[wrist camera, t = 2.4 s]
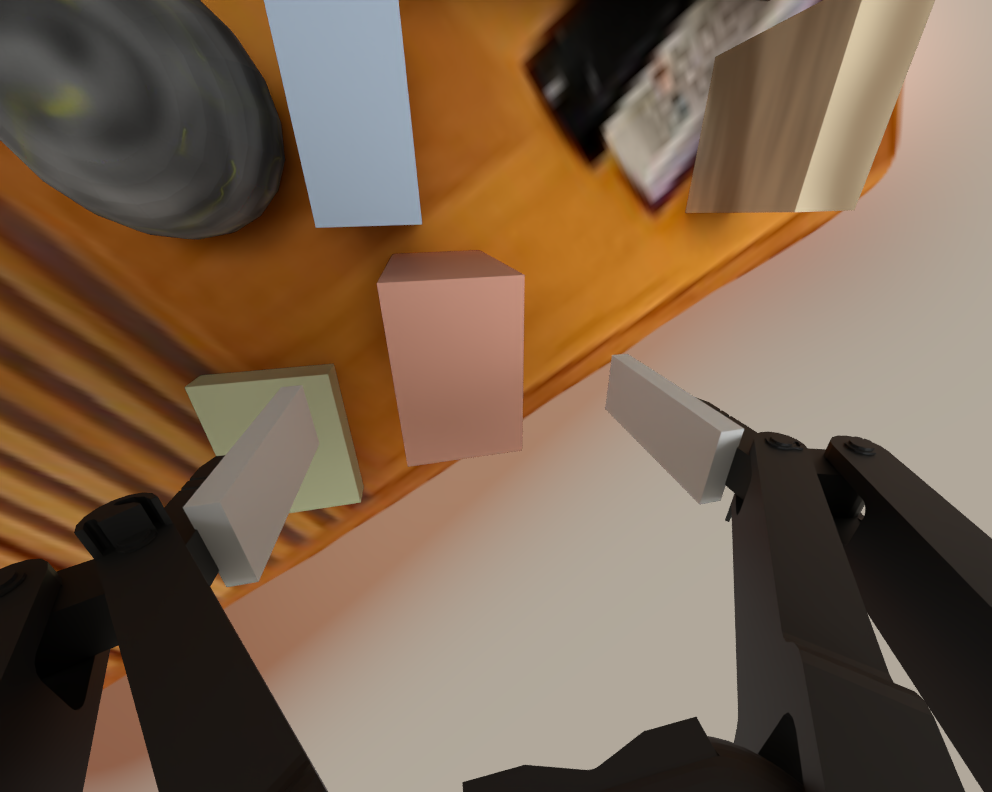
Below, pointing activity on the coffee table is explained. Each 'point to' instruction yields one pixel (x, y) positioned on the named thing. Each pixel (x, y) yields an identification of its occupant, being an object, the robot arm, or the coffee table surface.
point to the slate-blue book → (349, 108)
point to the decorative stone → (140, 112)
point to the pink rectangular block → (455, 353)
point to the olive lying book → (334, 467)
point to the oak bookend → (804, 108)
